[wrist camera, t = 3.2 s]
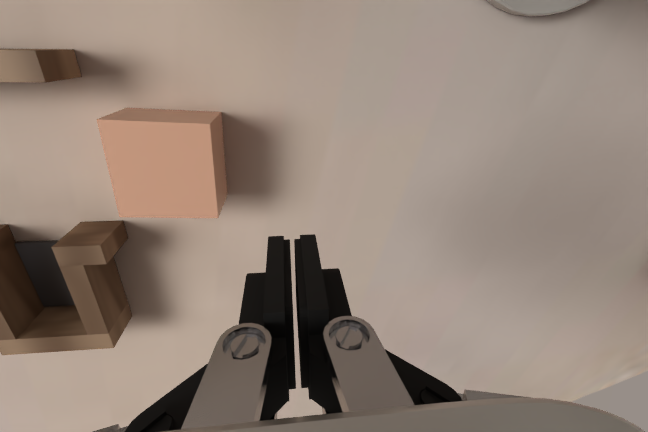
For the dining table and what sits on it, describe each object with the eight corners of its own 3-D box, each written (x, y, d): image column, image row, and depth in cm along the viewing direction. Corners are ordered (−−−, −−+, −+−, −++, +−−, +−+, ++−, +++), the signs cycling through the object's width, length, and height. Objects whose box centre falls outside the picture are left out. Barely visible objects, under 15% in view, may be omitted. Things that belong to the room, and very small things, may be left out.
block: (221, 111, 23) (209, 124, 19) (227, 193, 25) (218, 218, 22) (127, 107, 22) (96, 119, 18) (143, 192, 25) (119, 217, 21)
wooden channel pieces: (73, 49, 20) (34, 50, 17) (150, 314, 29) (134, 346, 26) (-153, 47, 19) (-240, 47, 16) (1, 323, 28) (-35, 357, 25)
